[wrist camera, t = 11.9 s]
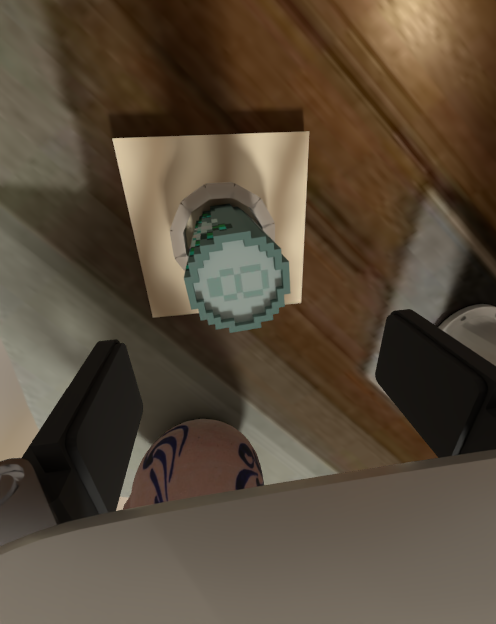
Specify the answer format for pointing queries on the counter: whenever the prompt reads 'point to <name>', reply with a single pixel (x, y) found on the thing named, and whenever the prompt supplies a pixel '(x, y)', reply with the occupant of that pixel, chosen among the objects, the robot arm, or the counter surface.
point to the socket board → (210, 200)
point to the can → (234, 270)
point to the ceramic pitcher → (195, 464)
